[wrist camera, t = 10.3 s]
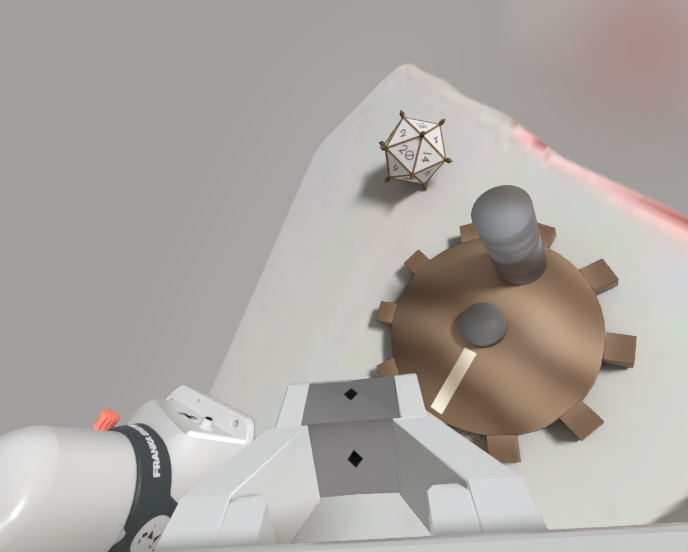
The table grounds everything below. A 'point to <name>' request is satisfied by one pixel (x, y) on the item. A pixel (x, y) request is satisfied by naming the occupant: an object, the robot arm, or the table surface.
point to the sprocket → (504, 328)
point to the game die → (414, 150)
